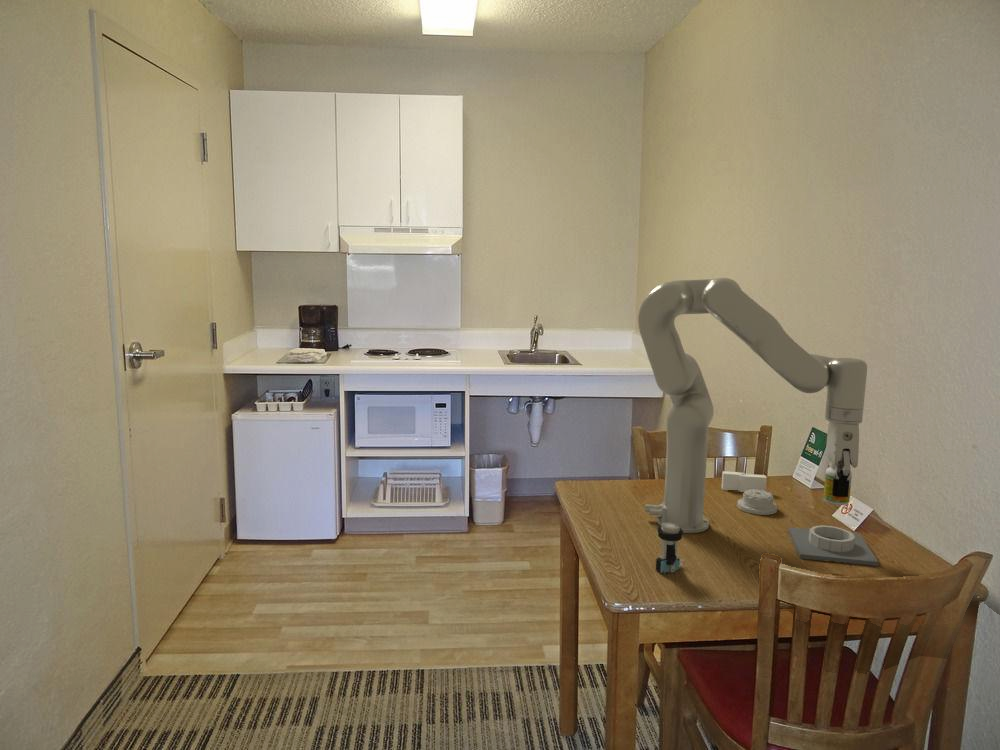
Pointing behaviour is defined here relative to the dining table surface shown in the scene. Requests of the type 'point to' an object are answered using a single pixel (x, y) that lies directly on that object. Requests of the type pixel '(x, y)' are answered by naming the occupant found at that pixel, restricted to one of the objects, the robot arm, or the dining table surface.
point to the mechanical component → (757, 502)
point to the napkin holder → (743, 481)
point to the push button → (669, 547)
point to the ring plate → (831, 545)
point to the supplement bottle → (829, 486)
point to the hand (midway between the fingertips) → (836, 491)
